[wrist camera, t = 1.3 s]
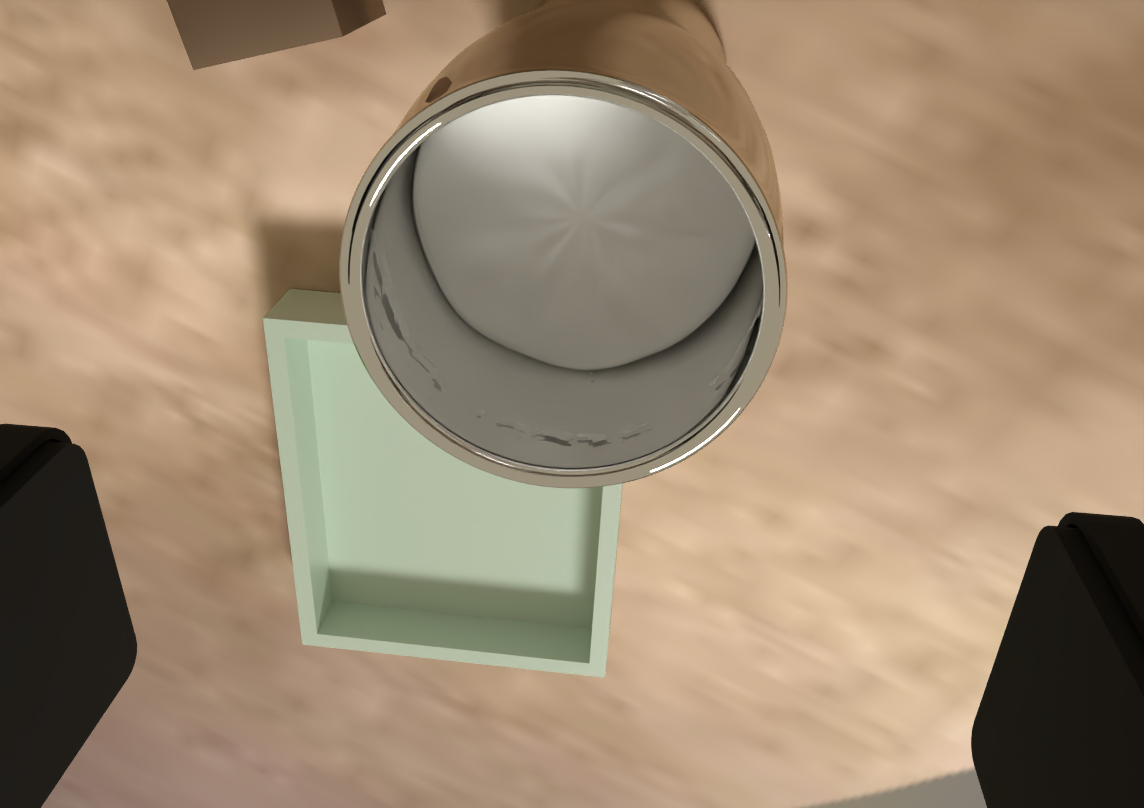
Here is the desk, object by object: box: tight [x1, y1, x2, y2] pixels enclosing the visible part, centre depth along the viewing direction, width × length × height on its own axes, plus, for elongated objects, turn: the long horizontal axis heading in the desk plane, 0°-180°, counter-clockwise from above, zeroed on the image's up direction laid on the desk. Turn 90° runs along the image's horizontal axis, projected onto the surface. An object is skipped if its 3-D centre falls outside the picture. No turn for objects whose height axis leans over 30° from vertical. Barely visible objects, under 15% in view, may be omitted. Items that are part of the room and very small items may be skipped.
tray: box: [263, 289, 623, 678], centre depth 33 cm, size 13×11×2 cm
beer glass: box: [339, 0, 788, 488], centre depth 20 cm, size 7×7×15 cm
